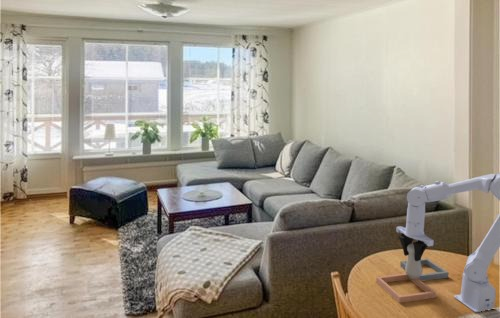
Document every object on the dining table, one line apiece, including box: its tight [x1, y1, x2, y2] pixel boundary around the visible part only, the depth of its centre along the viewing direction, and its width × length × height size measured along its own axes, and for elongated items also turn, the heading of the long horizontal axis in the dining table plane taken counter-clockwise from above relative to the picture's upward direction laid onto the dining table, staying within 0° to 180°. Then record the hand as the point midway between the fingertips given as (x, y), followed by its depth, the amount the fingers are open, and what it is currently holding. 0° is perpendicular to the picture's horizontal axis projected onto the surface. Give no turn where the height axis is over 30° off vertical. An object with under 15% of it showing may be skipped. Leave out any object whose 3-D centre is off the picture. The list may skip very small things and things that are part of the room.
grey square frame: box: [400, 258, 449, 282], centre depth 146 cm, size 12×12×2 cm
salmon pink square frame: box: [375, 272, 437, 304], centre depth 133 cm, size 14×14×2 cm
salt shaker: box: [404, 242, 423, 279], centre depth 136 cm, size 6×6×13 cm
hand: (412, 257), depth 135 cm, fingers closed on salt shaker, 4 cm apart
